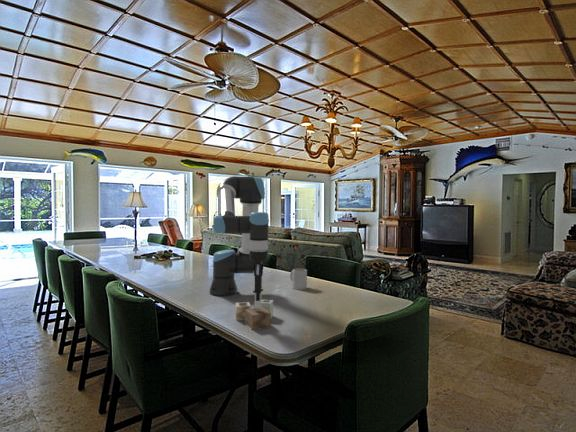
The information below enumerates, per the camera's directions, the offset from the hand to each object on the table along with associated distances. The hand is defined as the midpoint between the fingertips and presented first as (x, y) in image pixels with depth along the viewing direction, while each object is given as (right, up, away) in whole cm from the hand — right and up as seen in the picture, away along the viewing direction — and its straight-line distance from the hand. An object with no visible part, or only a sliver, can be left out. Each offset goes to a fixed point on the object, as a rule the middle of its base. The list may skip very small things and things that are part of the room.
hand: (257, 307), depth 140 cm
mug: (+18, -6, +65) cm, 68 cm away
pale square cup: (+3, -7, +10) cm, 13 cm away
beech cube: (-7, -7, +9) cm, 13 cm away
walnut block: (0, -7, 0) cm, 7 cm away
